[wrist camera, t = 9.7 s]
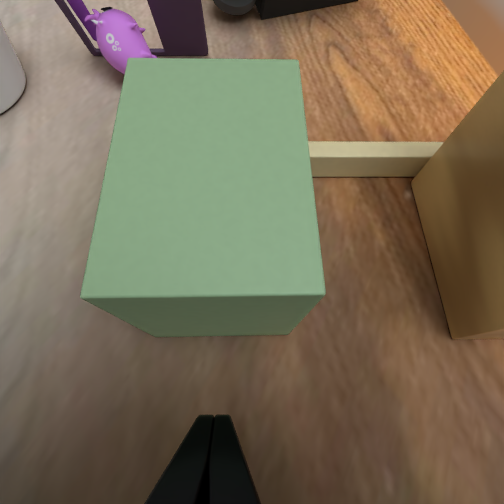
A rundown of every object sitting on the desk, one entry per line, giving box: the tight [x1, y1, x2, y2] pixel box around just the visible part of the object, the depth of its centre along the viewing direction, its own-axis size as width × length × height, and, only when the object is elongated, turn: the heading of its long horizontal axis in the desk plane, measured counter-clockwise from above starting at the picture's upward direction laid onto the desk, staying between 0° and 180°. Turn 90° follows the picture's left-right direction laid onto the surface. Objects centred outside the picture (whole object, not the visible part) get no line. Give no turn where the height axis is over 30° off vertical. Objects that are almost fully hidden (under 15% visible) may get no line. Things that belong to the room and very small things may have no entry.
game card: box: [55, 0, 208, 75], centre depth 21 cm, size 7×5×9 cm
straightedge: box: [308, 142, 444, 177], centre depth 20 cm, size 1×24×2 cm, turn 91°
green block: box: [80, 58, 326, 337], centre depth 14 cm, size 10×7×8 cm
